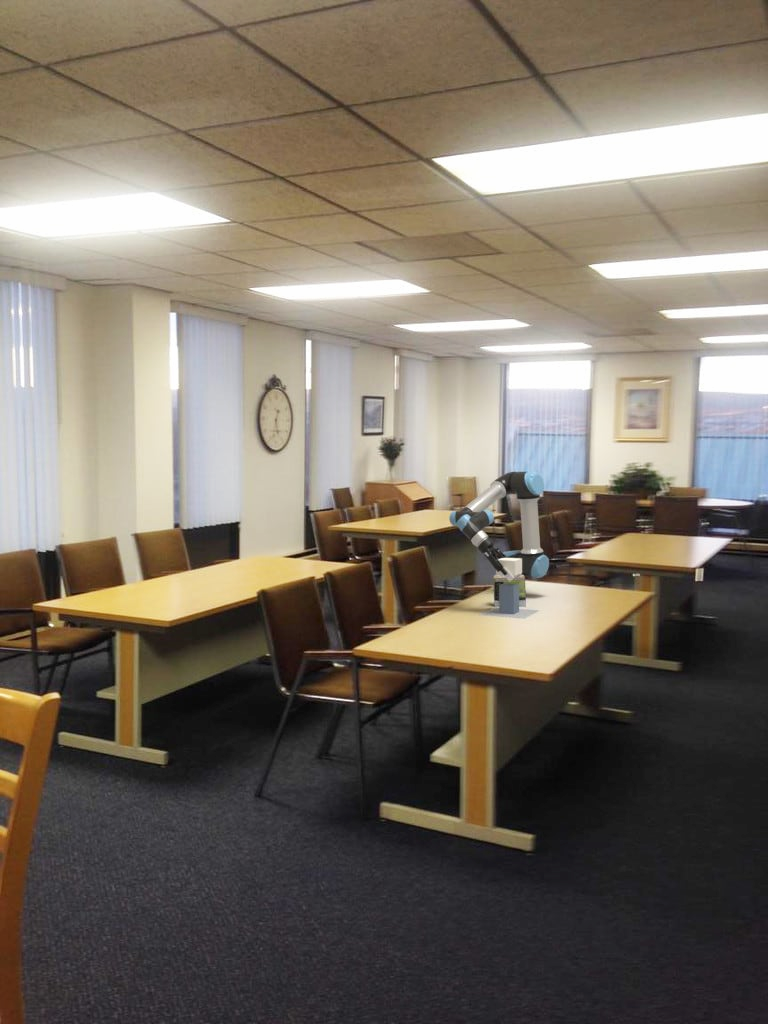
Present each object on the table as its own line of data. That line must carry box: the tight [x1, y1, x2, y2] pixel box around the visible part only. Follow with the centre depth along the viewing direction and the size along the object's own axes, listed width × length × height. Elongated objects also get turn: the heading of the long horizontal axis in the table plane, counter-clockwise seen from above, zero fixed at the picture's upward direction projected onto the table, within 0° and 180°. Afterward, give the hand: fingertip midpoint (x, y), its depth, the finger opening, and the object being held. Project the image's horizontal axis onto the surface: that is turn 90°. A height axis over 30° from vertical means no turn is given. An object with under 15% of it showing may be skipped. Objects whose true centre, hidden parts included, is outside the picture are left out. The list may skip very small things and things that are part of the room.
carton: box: [499, 583, 520, 614], centre depth 394 cm, size 7×7×13 cm
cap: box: [495, 558, 522, 576], centre depth 393 cm, size 9×9×7 cm
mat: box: [478, 606, 541, 619], centre depth 395 cm, size 22×22×1 cm
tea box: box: [493, 574, 527, 608], centre depth 414 cm, size 15×10×15 cm, turn 84°
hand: (515, 578), depth 392 cm, fingers closed on cap, 9 cm apart
